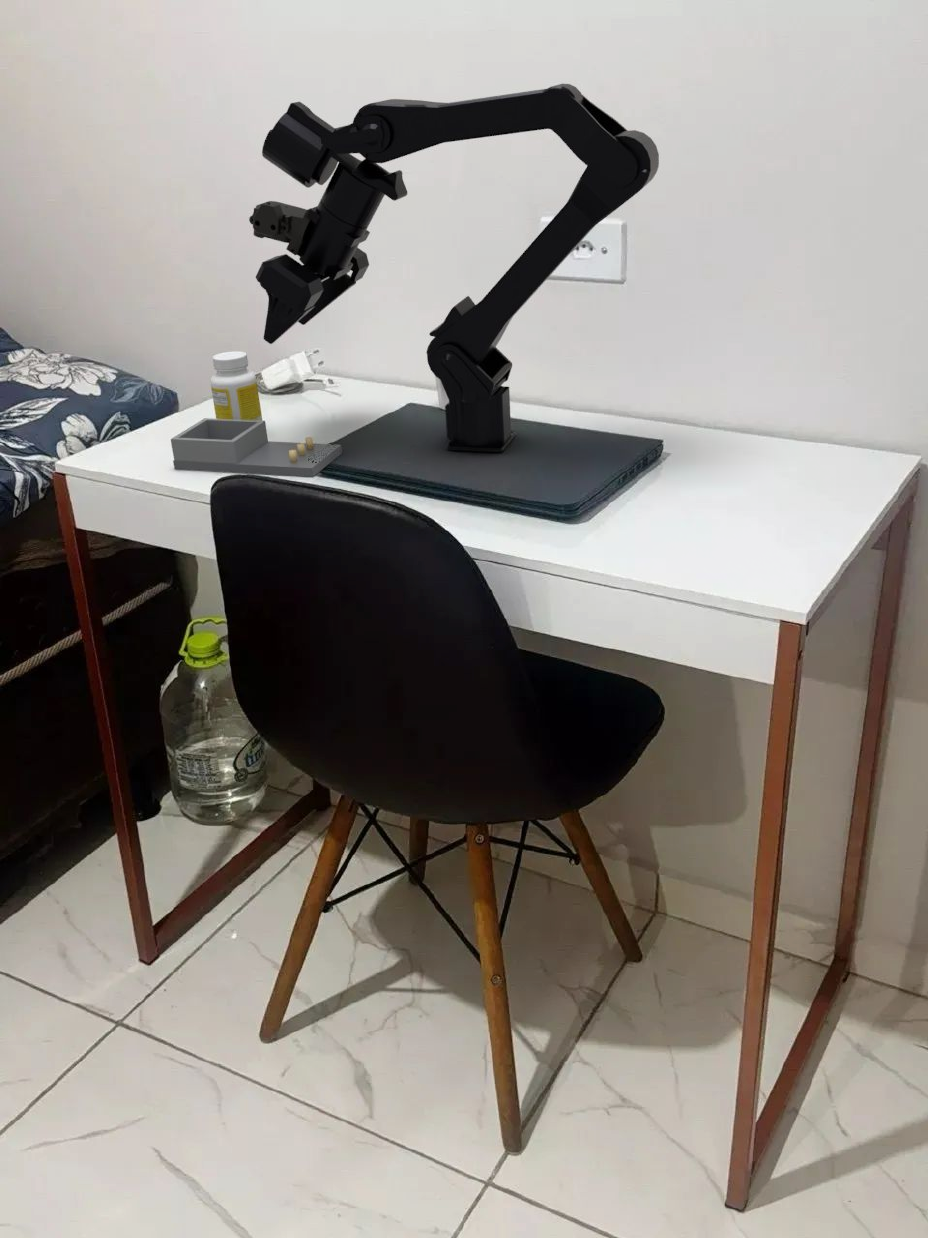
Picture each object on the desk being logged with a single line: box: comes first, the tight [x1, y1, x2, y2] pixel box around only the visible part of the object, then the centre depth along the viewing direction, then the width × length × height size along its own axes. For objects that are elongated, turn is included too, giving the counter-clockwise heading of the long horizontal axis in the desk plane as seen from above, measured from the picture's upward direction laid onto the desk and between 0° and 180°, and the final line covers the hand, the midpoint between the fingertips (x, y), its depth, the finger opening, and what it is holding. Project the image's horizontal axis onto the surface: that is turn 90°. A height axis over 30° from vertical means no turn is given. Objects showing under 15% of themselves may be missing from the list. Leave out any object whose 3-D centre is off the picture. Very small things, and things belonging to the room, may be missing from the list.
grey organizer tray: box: [170, 418, 343, 478], centre depth 133 cm, size 17×8×4 cm, turn 73°
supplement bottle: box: [210, 351, 263, 421], centre depth 140 cm, size 5×5×10 cm
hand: (284, 331), depth 135 cm, fingers open, 9 cm apart
